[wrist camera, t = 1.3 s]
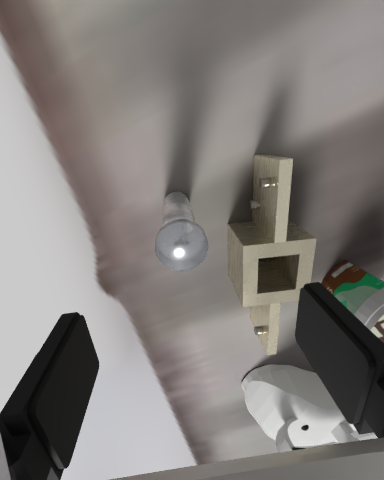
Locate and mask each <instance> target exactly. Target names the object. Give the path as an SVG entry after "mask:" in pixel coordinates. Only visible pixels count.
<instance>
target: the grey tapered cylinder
mask: <svg viewBox="0 0 384 480" xmlns="http://www.w3.org/2000/svg"><path fill="white" fill-rule="evenodd" d="M207 251H208V241H207V238H206V235H205V233H204V231H203V229H202V228H201V227H200V226H199V225H198V224H196V222H195V219H194V216H193V213H192V210H191V206H190V203H189V200H188V198H187V196H186V195H185V194H184V193H182V192H179V191H174V192H171V193H169V194H168V195H167V196H166V198H165V200H164V210H163V223H162V228H161V229H160V230H159V232H158V234H157V236H156V242H155V252H156V255H157V257H158V259H159V261H160V262H161V263H162V264H163V265H164V266H166V267H167V268H169V269H172V270H176V271H186V270H190V269H192V268H194V267H196V266H198V265H199V264H200V263H201V262H202V261H203V260H204V258H205V256H206V254H207Z"/></svg>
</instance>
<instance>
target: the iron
mask: <svg viewBox="0 0 384 480" xmlns="http://www.w3.org/2000/svg"><path fill="white" fill-rule="evenodd" d="M241 384H242V388H243V390H244V392H245V402H246V405H247V408H248V410H249V412H250V413H251V414H252V416H253V417H254V418H255V419H256V421H257V422H258V423H259V425H260V426H261V427H262V429H263V430H264V432H265V433H266V435H268V436H269V437H271V438H272V439H274V440H275V441H276V445H277V449H278V451H279V453H280V452H286V451H293V450H299V449H306V448H295V447H294V446H314V445H321V444H325V443H329V442H333V441H335V442H339V443H346V442H354V441H359V440H358V439H357V438H354V437H353V436H352V434H353V433H354V431H355V430H356V428H355V427H354V425H353V424H349V423H348V422H347V421H346V419H345V418H344V416H343V414H342V413H341V411H340V410H339V408H338V407H337V405H336V403H335V402H334V400H333V399H332V397H331V395H330V394H329V392H328V391H327V389H326V387H325V386H324V384H323V383H322V381H321V379H320V378H319V376H318V375H317V373H315V372H310V371H306V370H303V369H300V368H297V367H294V366H291V365H265V366H262V367H259V368H256V369H254V370H253V371H251V372H250V373H249V374H248V375H247V376H246V377H245V379H244V380H243V382H242V383H241Z"/></svg>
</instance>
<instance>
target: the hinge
mask: <svg viewBox="0 0 384 480" xmlns="http://www.w3.org/2000/svg"><path fill="white" fill-rule="evenodd" d="M292 166H293V159H292V158H285V157H279V156H273V155H266V154H261V155H254V175H253V201H250V202H249V207H250V209H251V210H252V209H253V215H252V221H249V222H239V223H229V224H228V270H229V277H230V279H231V282H232V284H233V286H234V288H235V291H236V293H237V295H238V298H239V300H240V302H241V304H242V307H250V319H251V321H252V323H253V325H254V332H255V334H256V335H258V336H259V339H260V341H261V343H262V345H263V347H264V350H265V352H266V354H267V355H274V354H276V353H277V341H278V329H279V318H280V306H281V303H283V302H291V301H299V295H300V289H301V288H303V287H304V285H305V284H307V283H310V282H311V275H312V268H313V260H314V253H315V246H316V239H317V238H315V237H314V236H312V235H311V234H309V233H308V232H306V231H305V230H303V229H302V228H300V227H299V226H297V225H296V224H294V223H293V222H291V221H290V220H288V213H289V201H290V190H291V178H292ZM268 257H271V260H269V261H260V262H258V259H259V258H268Z"/></svg>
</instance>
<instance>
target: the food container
mask: <svg viewBox="0 0 384 480" xmlns="http://www.w3.org/2000/svg"><path fill="white" fill-rule="evenodd" d="M321 284H322V285H323V286H324V287H325V288H326V289H327V290H328V291H329V292H330V293H332V294H333V295H334V296H335V297H336V298H337V299H338V300H339V301H340V302H341V303H342V304H343V305H344V306H345V307H346V308H347V309H348V310H349V311H350V312H351V313H353V314H354V315H355V316H356V317H357V318H358V319H359V320H360V321H361V322H362V323H363V324H364V325H365V326H366V327H367V328H368V329H369V330H370V331H371V332H372V333H374V334H375V335H376V336H377V337H378V338H379V339H380V340H381V341H382V342H383V343H384V282H383V281H381V280H379V279H378V278H376V277H374V276H372V275H371V274H369V273H367V272H365V271H364V270H362V269H360V268H359V267H357V266H355V265H353V264H352V263H350V262H348V261H346V260H345V261H343V262H341V263H339V264H338V265H337V266H335V267H334V268H333V269H332V270H330V271H329V272H328V274H327V275H326V276H325V278H324V279H323V281H322V283H321Z"/></svg>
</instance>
